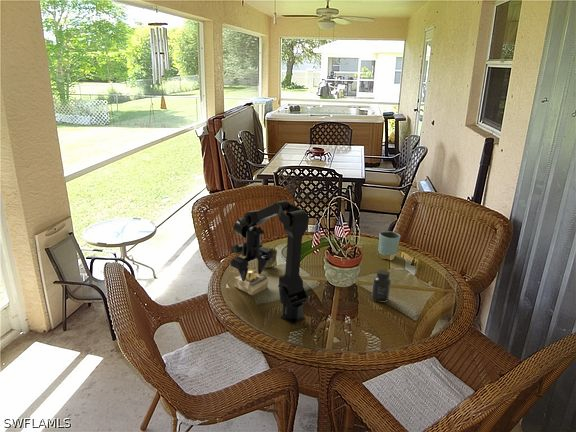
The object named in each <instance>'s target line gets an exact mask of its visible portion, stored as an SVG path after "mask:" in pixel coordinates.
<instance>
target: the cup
mask: <svg viewBox="0 0 576 432" xmlns="http://www.w3.org/2000/svg"><path fill="white" fill-rule="evenodd" d="M266 248H267V249H270V250H272V252H273V257H272V258H271V259H270V260H269V261H268V263H267V264H266V266H265V268H266V269H272V267H273V265H274V264H275V263H276V260H277V255H278V250H277V249H275V248H273V247H272V248H271V247H266Z"/></svg>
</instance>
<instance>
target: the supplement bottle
mask: <svg viewBox="0 0 576 432" xmlns="http://www.w3.org/2000/svg"><path fill="white" fill-rule="evenodd" d="M391 285H392V281H391V279H390V271H389V270H386V269H378V270H377V272H376V276H374V278H373V281H372V286H371V287H372V289H371V295H372V298H373V299H374V300H376V301H386V300H388V301H389V298H390V297H389V296H390V291H391ZM372 298H371V299H372ZM373 299H372V300H373ZM374 300H373V301H374ZM376 301H375V302H376Z"/></svg>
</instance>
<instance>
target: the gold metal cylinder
mask: <svg viewBox="0 0 576 432" xmlns="http://www.w3.org/2000/svg"><path fill="white" fill-rule="evenodd" d="M257 274H258V270H256V269H251V268H250V269H248V272H247V278H246V280H247V281H249V282H253V281H255V280H256V277H257Z"/></svg>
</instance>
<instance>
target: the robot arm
mask: <svg viewBox="0 0 576 432" xmlns="http://www.w3.org/2000/svg"><path fill="white" fill-rule="evenodd" d="M285 212H286V213H285ZM275 216H277V217H278V220H279V222H281V223H282V224H283V230H284V232H285V233H286V235H287V241H286V243H287V244H286V256H285V257H286V258H285V271H284V274H283V275H281V276H279V277H278V286H277V288H278V293H279V299H280V300H279V301H280V303H281V304H282V314H281V315H280V318H281V319H283V320H285V321H288V322H289V323H291V324H292V325H295V324H297V323H298V322H300V321H301V320H303V319H304V318H305V317H306V316H305V315H304V314H303V313H304V312H303V309H304V303H306V302H308V300H309V296H308V294H307V292H306V290H305V287H304V281H303V278H302V277H301V275H300V271H301V270H300V269H301V258H302V257H301V255H302V246H303V245H302V244H303V243H302V241H303V236H304V235H305V234H306V231H307V230H308V226H309V222H310V217H309V214H308V213H307V212H306V211H305V210H303V209H302V208H301V207H299V206H296V205H294V204H292V203H291V202H289V201H288V200H281V201H280V200H279V201H276V202H274V203H273V204H270V205H268V206H266V207H263V208H261V209H257V210H251V211H245V213H244V216H243V217H239V218H237V221H236V222H235V223H234V225H233V227H232V228H233V229H232V230H233V232H235V234H237V235H239V236H241V237H242V238H243V239H244V238H245V242H244V243H243V244H242V243H241V244H234V245H232V247H231V248H232V249H231V251H232V253H233V254H235V255H239V254H240V255H241V256H237V257H234V258H232V259H230V266H231V267H233V268H235V269H237V271H238V273H239V276H241V279H242V281H245V279H246V275H247V272H248V270H249V263H251V262H254V261H255V260H257V274H258V275H262V273H263V271H264V269H265V268H266V267H265V266H266V264H267V263H268V261H269V260H270V259H271V258H272V257H273V252H272V250H270V249H269V248H268V247H265V246H263V244H262V243H261V241H262V240H261V237H262V235H264V234H265V231H264V230H263V229H262V227H261V226H262V225H264V224H265V223H266V222H267V221H268V219H270V218H273V217H275ZM260 225H261V226H260ZM259 226H260V227H259ZM267 248H268V249H267ZM242 256H243V257H244V258H243V257H242Z"/></svg>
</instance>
